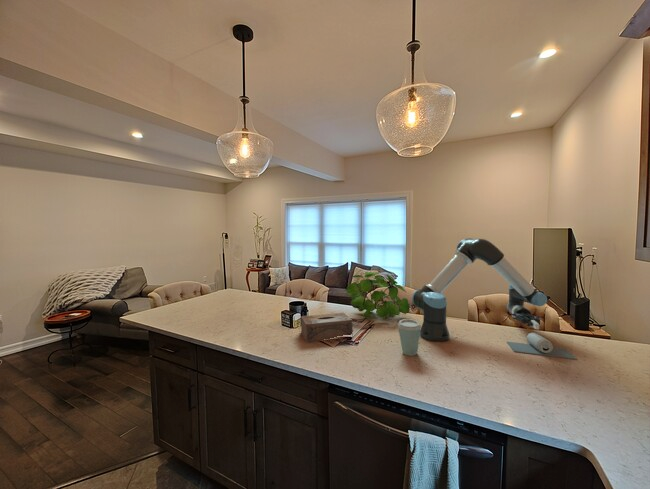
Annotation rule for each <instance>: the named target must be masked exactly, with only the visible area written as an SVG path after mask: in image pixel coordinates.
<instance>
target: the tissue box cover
mask: <svg viewBox="0 0 650 489" xmlns="http://www.w3.org/2000/svg"><path fill="white" fill-rule="evenodd" d="M300 317H301V319H300V320H301V322H300V324H301V327H300V328H301V336H302V337H303V339H304V341H305V343H308V344H309V343H314V342H322V341H321V340H324V339H330V338H334V337H337V336H343V335H351V334H352V335H353V319H352V318H351V317H350V316H348V315H347V314H346V313H345V312H333V313H325V314H324V313H323V314H321V313H320V314H311V315H302V316H300Z"/></svg>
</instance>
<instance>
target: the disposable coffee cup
mask: <svg viewBox="0 0 650 489" xmlns="http://www.w3.org/2000/svg"><path fill="white" fill-rule="evenodd" d="M397 327H398V335H399V339H400V346H401V350H402V351H401V352H402V353H403V354H404V355H405V356H410V357H411V356H412V357H413V356H416V355H417V353H418V349H419V342H420V329H421V327H422V324H420V322H419V321H418V320H416V319H413V318H412V319H411V318H404V319H400V320H399V321H398V323H397Z"/></svg>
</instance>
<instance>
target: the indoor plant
mask: <svg viewBox="0 0 650 489" xmlns="http://www.w3.org/2000/svg"><path fill="white" fill-rule="evenodd" d="M364 275H365V276H362V275H359V274H355V275H353V276H352V278H361V280H359V281H360V282H359V283H357V282H356V281H355V282H352V283H349V284H348V285H347V286H346V288H345V291H346V295H350V299H351V301H350V305H351V306H352V308H354V309H357V310H358V311H359V312H363V317H364V318H366V317H369V318H368V319H370V318H371V315H372V312H373V311H375V313H376V315H377V316H378V317H382V318H384V317H385V318H387V317H392V316H393V317H395V316H400V314H401V313H402V314H404V315H406V314H408V313H409V311H410V303H409V300H408V298H406V297H404V298H402V299H401V298H400V297H399V296H398V294H399V289H400V290H401V291H403V292H405V293H407V291H406V290H405V289H404V287H403V286H402V285H399V283H398V282H397V281H396V280H395V279H394V278H393V277H392V276H390V275H389V274H388V273H386V277H387V279H388V281H389V282H390V285H389V284H388V282H387V281H386V280H385V278H383V277H382V276H379V272H378V271H376V272H365V273H364ZM370 277H374V279H370ZM365 278H366V279H365ZM377 285H379V286H378V287H381V288H386V289H385V290H384V291H383V290H381V289H380V291H379V290H374V287H375V286H377ZM371 289H372V291H373V292H372V291H371ZM387 290H388V295H387V293H385V292H386V291H387ZM368 292H369V293H370V299H369V297H368V296H367V295H366V293H368ZM365 298H366V299H365ZM384 299H388V300H390V301H387V300H384ZM383 300H384V301H383ZM381 301H383V302H381ZM373 302H374V303H373ZM371 311H372V312H371ZM390 315H392V316H390Z"/></svg>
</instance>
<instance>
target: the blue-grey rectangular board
mask: <svg viewBox="0 0 650 489" xmlns="http://www.w3.org/2000/svg"><path fill="white" fill-rule="evenodd" d="M506 344H508V346H509V347H510V349H511V351H513V352H514V353H519V354H526V355H527V354H528V355H533V356H534V355H535V356H542V357H543V356H545V357H551V358H559V359H566V358H568V359H567V360H574V359H578V358H577V357H576V356H575V355H573V354H572V353H571V352H570V351H569V350H567V349H566V348H565V347H559V346H558V347H557V346H553V350H552V351H551V352H549V353H543V352H540V351H539V350H538V349H536V348H535V347H533V346H532V345H531V344H529V343H524V342H513V341H506Z"/></svg>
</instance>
